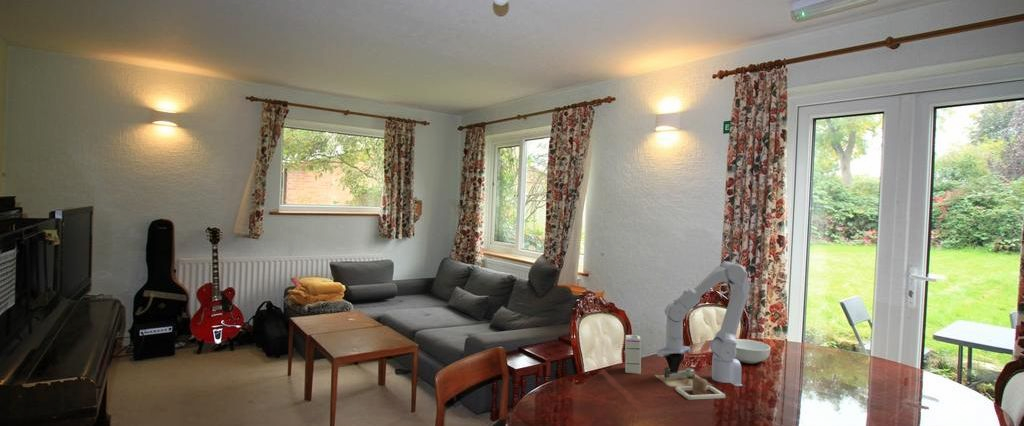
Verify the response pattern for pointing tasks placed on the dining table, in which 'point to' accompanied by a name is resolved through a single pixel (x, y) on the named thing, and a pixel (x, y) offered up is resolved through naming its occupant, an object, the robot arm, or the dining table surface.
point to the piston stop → (699, 386)
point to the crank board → (678, 381)
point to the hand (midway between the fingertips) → (673, 373)
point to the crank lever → (678, 373)
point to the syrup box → (632, 354)
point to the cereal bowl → (751, 351)
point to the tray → (707, 396)
